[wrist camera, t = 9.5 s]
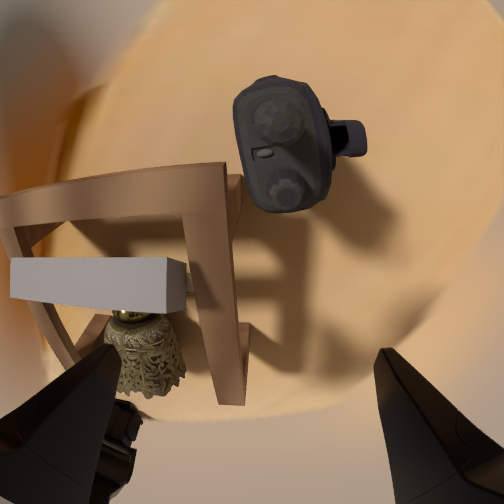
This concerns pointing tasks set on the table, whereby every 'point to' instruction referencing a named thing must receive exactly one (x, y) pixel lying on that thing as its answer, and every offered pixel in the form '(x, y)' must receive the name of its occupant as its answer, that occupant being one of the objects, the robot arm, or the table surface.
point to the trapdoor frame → (148, 203)
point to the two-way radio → (290, 144)
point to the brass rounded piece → (145, 352)
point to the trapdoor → (103, 282)
